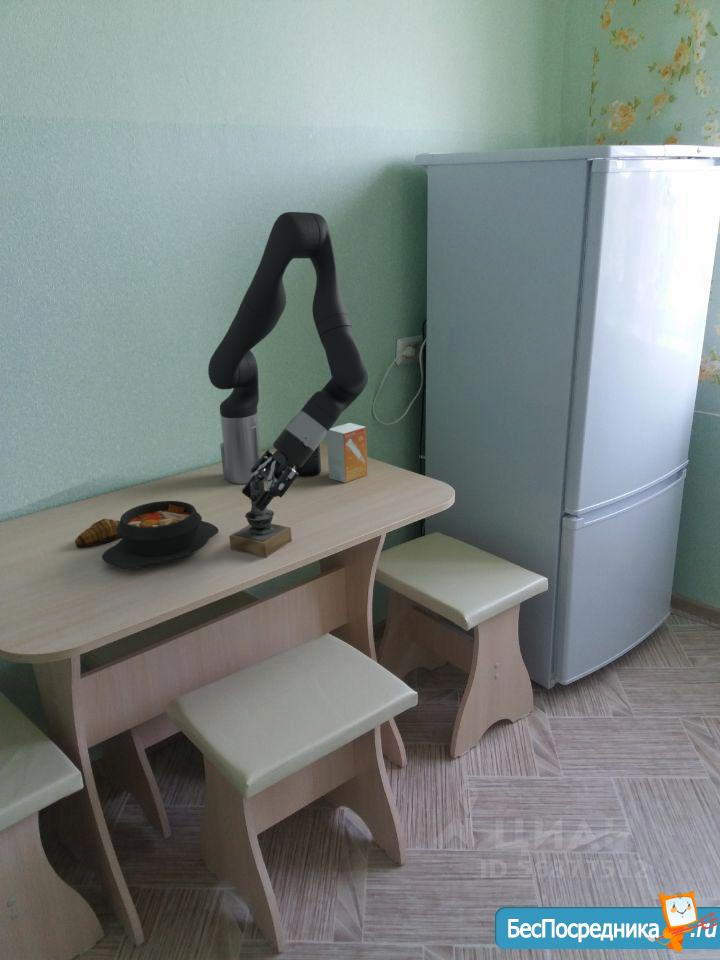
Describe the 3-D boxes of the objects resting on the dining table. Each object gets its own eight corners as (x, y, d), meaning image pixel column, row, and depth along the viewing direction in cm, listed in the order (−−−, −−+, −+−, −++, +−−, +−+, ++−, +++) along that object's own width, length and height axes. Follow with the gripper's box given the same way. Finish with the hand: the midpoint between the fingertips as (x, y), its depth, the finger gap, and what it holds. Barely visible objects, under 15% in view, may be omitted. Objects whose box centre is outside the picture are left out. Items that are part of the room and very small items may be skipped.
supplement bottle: (289, 474, 205) (286, 430, 201) (307, 467, 210) (305, 423, 206) (308, 479, 201) (305, 434, 196) (326, 472, 205) (324, 427, 201)
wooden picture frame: (230, 549, 162) (229, 535, 161) (257, 533, 169) (255, 519, 168) (266, 557, 158) (264, 542, 156) (291, 540, 165) (290, 526, 164)
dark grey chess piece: (277, 524, 165) (273, 470, 161) (272, 536, 159) (267, 480, 155) (250, 524, 166) (245, 470, 161) (243, 536, 160) (238, 480, 156)
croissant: (83, 554, 163) (79, 532, 161) (70, 544, 168) (66, 523, 166) (143, 535, 171) (140, 514, 169) (129, 526, 176) (126, 506, 174)
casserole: (182, 521, 177) (178, 486, 174) (238, 541, 166) (235, 504, 163) (84, 561, 159) (78, 523, 156) (139, 586, 148) (133, 545, 145)
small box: (345, 483, 197) (343, 433, 192) (328, 478, 201) (325, 429, 197) (368, 475, 202) (366, 426, 198) (351, 470, 206) (349, 422, 202)
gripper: (275, 419, 164) (227, 481, 164) (300, 436, 152) (248, 502, 151) (300, 440, 168) (254, 500, 168) (326, 458, 156) (276, 522, 155)
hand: (251, 501), depth 159 cm, fingers open, 8 cm apart
